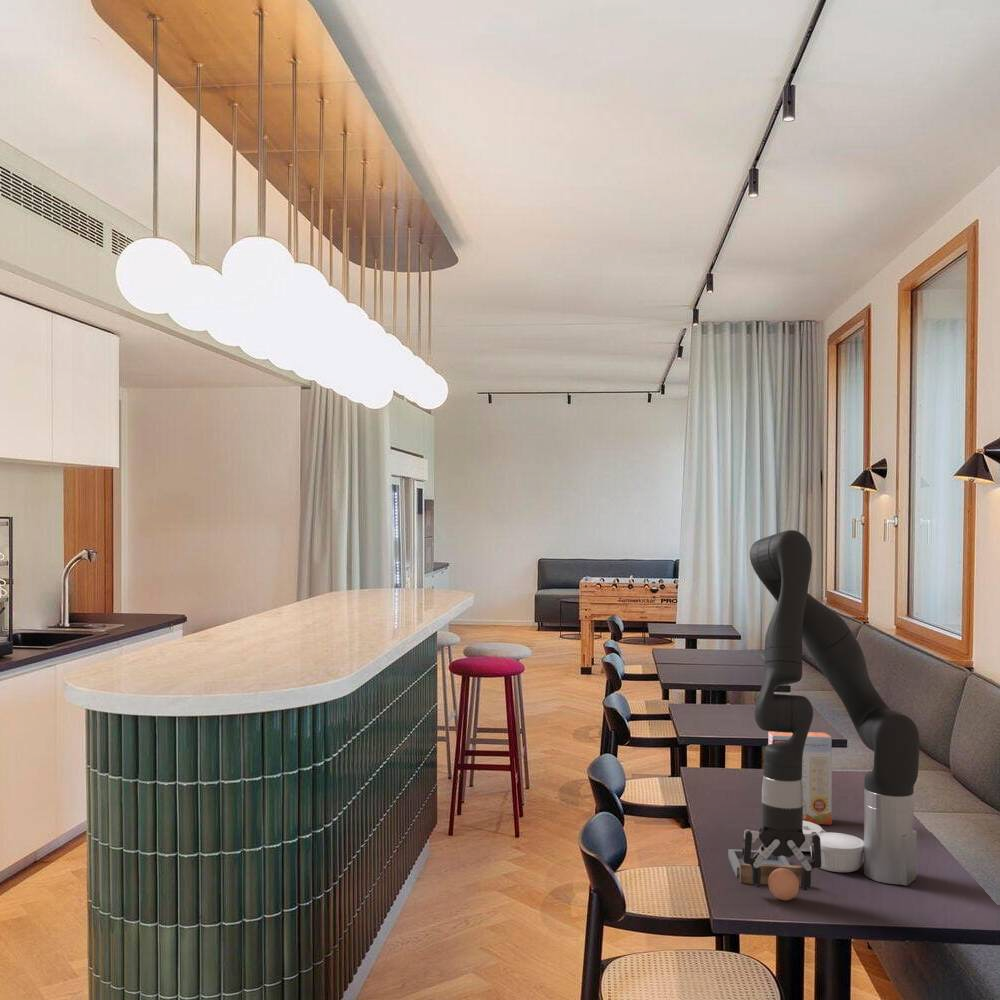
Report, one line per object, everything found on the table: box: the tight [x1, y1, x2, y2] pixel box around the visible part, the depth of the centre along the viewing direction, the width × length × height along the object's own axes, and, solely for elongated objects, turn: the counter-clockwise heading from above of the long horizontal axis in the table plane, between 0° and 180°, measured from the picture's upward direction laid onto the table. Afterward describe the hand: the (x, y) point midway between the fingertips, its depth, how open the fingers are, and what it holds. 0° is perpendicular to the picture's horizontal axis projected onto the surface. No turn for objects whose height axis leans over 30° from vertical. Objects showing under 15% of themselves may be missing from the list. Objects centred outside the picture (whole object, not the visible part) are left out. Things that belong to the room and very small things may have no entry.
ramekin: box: [809, 832, 864, 873], centre depth 199 cm, size 11×11×5 cm
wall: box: [739, 863, 803, 885], centre depth 188 cm, size 12×1×4 cm, turn 85°
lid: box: [799, 821, 827, 852], centre depth 212 cm, size 13×13×5 cm
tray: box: [727, 848, 791, 879], centre depth 196 cm, size 11×11×2 cm
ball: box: [767, 868, 800, 901], centre depth 180 cm, size 6×6×6 cm
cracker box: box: [767, 731, 833, 826], centre depth 230 cm, size 14×6×21 cm, turn 84°
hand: (780, 887), depth 181 cm, fingers open, 8 cm apart
